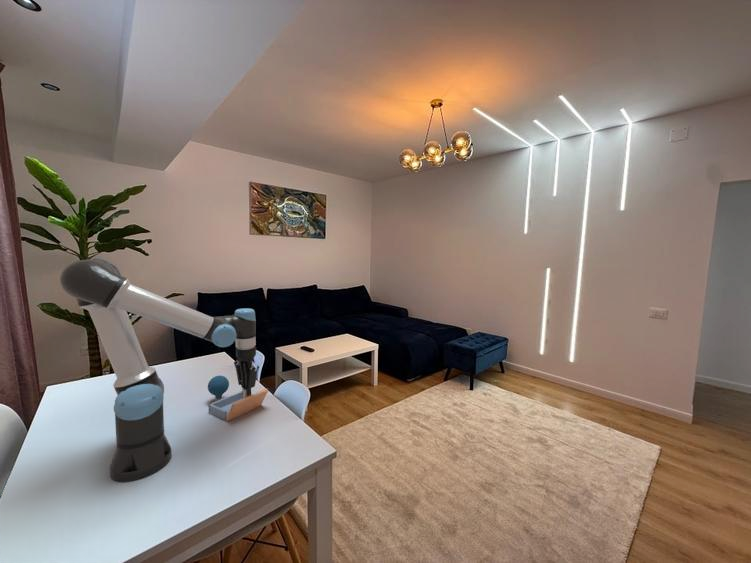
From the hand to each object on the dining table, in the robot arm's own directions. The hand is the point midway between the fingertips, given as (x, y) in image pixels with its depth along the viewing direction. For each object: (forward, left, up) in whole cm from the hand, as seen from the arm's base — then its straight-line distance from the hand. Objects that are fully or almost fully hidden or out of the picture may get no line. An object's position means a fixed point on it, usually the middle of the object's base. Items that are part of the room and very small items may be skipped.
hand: (247, 402), depth 124 cm
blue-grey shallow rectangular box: (0, +8, -5) cm, 9 cm away
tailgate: (0, +1, -4) cm, 5 cm away
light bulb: (0, +19, -5) cm, 20 cm away
